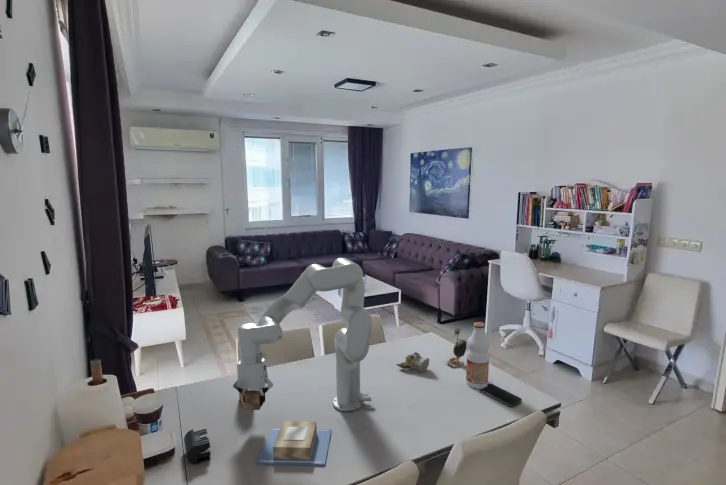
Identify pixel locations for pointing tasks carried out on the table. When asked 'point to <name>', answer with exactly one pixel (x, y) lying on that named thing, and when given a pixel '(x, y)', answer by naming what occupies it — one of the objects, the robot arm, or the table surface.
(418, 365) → the ceramic sculpture
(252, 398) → the walnut block
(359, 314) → the robot arm
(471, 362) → the fruit juice
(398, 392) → the table surface
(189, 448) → the end cap
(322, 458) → the blueprint board
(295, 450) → the oak base block
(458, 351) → the plant with pod
